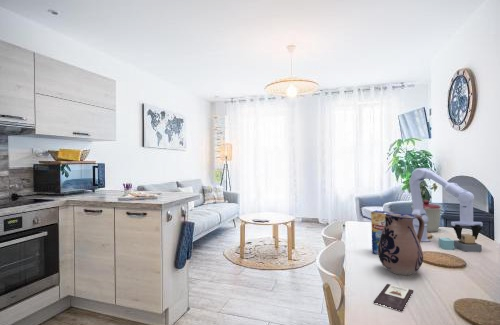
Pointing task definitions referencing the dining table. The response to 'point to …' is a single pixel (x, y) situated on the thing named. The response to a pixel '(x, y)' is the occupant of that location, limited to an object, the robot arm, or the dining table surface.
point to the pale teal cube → (446, 243)
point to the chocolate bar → (394, 297)
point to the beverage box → (377, 228)
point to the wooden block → (467, 239)
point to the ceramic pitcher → (401, 244)
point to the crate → (468, 247)
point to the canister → (432, 215)
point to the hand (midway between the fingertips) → (466, 239)
